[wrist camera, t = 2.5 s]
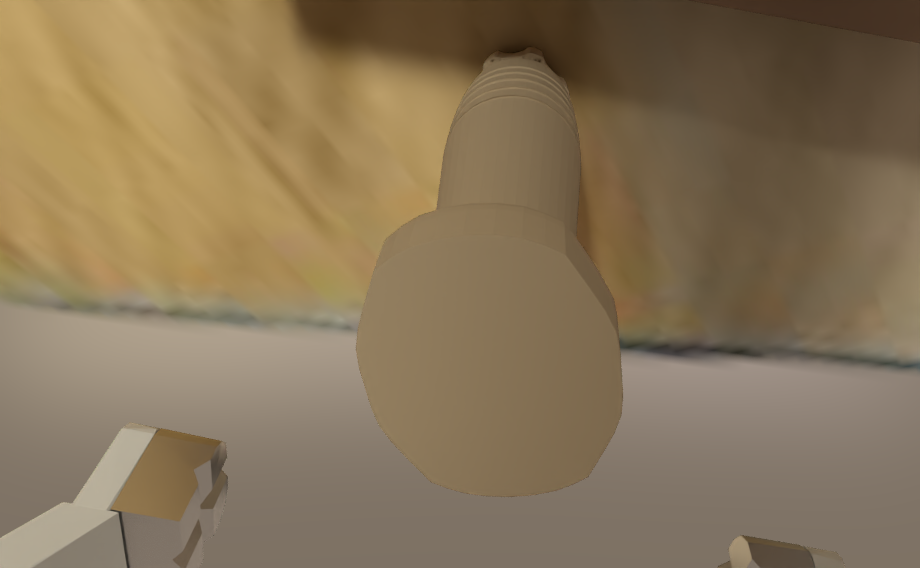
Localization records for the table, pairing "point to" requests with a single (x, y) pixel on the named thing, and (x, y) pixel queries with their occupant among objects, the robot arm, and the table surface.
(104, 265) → the table surface
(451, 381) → the handle
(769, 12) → the divided box
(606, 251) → the table surface
